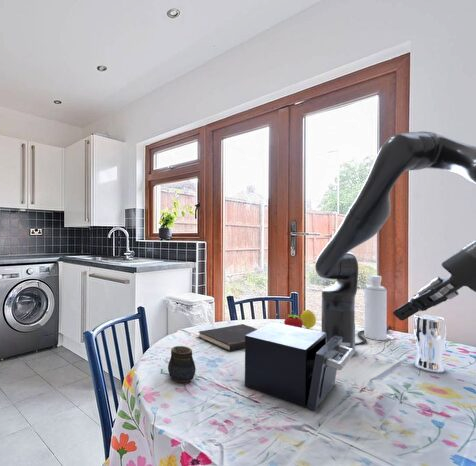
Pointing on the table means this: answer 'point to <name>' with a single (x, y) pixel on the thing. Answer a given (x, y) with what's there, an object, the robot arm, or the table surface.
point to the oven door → (327, 369)
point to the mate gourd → (181, 364)
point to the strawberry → (293, 321)
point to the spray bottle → (375, 310)
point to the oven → (282, 361)
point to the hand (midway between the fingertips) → (397, 316)
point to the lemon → (308, 319)
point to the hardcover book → (227, 336)
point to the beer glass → (429, 342)
